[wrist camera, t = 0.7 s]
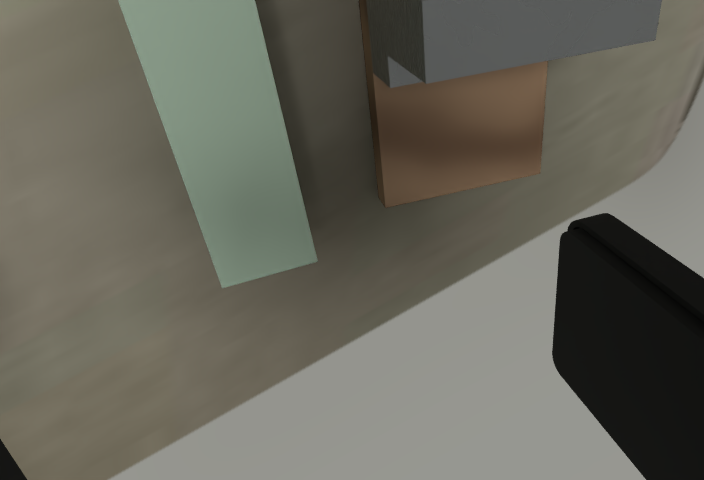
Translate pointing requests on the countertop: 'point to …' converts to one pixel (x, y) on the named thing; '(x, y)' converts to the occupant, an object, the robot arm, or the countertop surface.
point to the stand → (474, 83)
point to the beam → (225, 131)
